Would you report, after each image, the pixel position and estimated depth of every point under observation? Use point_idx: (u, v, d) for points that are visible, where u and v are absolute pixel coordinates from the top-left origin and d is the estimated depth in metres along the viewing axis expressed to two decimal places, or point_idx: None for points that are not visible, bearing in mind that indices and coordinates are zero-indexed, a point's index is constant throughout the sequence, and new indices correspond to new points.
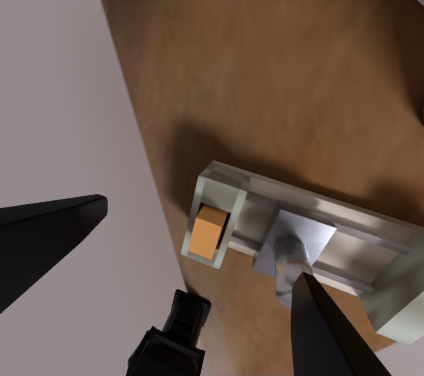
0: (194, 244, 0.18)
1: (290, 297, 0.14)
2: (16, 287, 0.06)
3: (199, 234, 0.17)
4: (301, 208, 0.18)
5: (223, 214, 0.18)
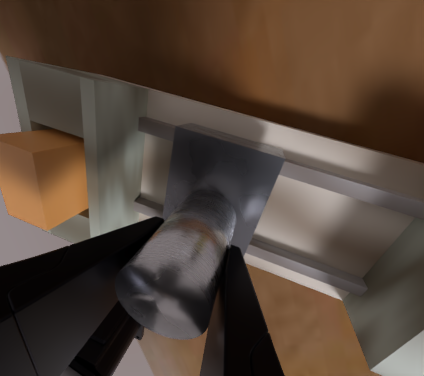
0: (10, 199, 0.09)
1: (148, 308, 0.06)
2: (92, 324, 0.06)
3: (8, 177, 0.08)
4: (227, 134, 0.10)
5: (71, 142, 0.09)
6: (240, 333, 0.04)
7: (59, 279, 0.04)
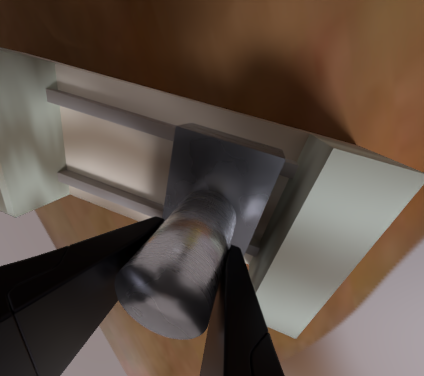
0: None
1: (147, 308, 0.06)
2: (92, 324, 0.06)
3: None
4: (227, 134, 0.10)
5: None
6: (240, 334, 0.04)
7: (59, 280, 0.04)
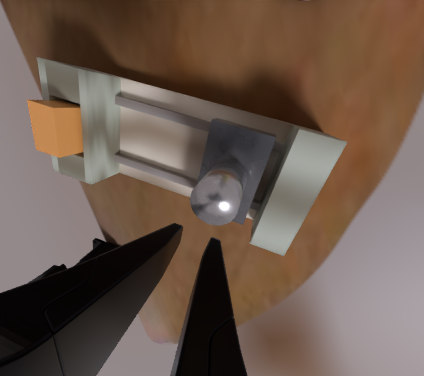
0: (38, 139, 0.16)
1: (206, 207, 0.11)
2: (116, 337, 0.06)
3: (38, 124, 0.15)
4: (241, 125, 0.15)
5: (73, 106, 0.16)
6: (205, 318, 0.04)
7: (90, 294, 0.04)
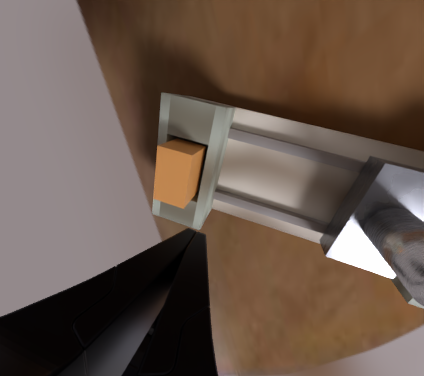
0: (159, 188, 0.13)
1: None
2: (135, 346, 0.06)
3: (164, 172, 0.13)
4: (405, 165, 0.13)
5: (198, 148, 0.13)
6: (181, 307, 0.05)
7: (115, 306, 0.04)
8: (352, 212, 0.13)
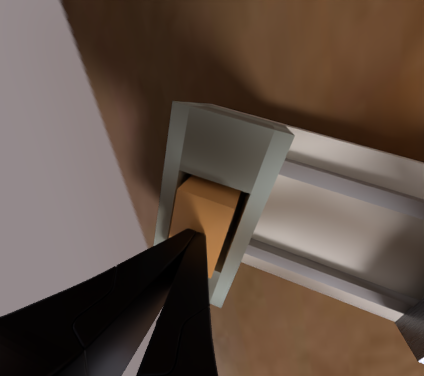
0: None
1: None
2: (135, 346, 0.06)
3: (186, 227, 0.08)
4: None
5: None
6: (181, 307, 0.05)
7: (115, 305, 0.04)
8: None
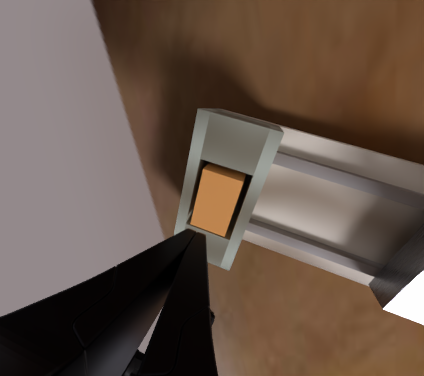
0: (199, 213, 0.12)
1: None
2: (135, 346, 0.06)
3: (208, 197, 0.11)
4: None
5: None
6: (181, 308, 0.05)
7: (115, 305, 0.04)
8: None
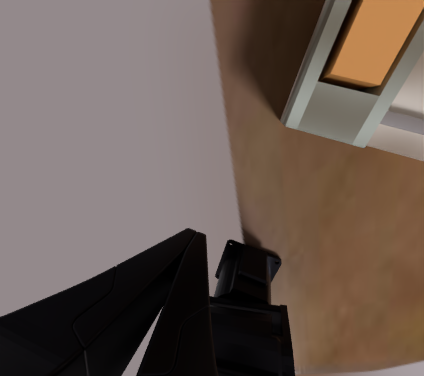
0: (350, 51, 0.09)
1: None
2: (135, 346, 0.06)
3: (372, 19, 0.09)
4: None
5: None
6: (181, 307, 0.05)
7: (115, 305, 0.04)
8: None
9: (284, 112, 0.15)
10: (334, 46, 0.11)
